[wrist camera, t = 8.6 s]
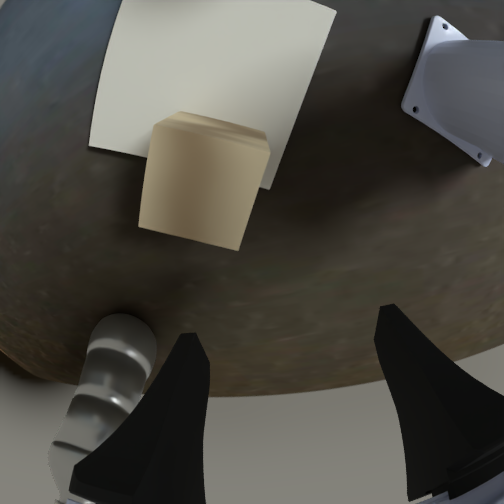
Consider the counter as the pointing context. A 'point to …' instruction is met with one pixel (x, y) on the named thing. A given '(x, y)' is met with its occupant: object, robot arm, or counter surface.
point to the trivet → (208, 68)
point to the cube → (202, 178)
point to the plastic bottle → (102, 393)
